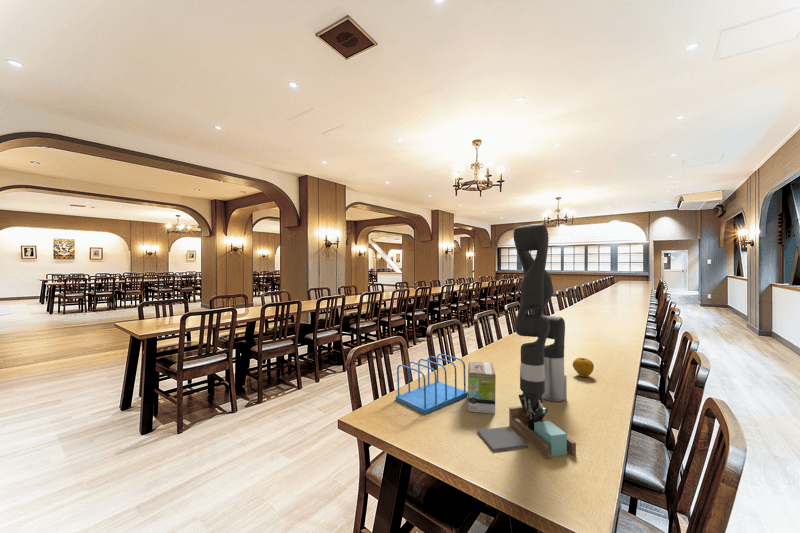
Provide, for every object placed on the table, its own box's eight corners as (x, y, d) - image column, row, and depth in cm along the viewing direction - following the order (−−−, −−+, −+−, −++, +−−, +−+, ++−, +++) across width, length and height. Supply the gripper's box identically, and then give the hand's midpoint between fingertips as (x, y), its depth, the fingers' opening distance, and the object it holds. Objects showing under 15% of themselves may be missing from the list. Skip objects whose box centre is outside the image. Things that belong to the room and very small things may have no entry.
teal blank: (548, 439, 101) (548, 420, 101) (566, 454, 94) (566, 433, 93) (534, 441, 100) (534, 422, 100) (551, 456, 93) (551, 435, 92)
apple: (568, 374, 160) (568, 356, 160) (580, 372, 164) (580, 354, 164) (585, 380, 152) (585, 361, 152) (598, 377, 155) (598, 358, 155)
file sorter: (437, 385, 148) (437, 351, 148) (468, 396, 135) (468, 359, 135) (395, 400, 132) (394, 362, 132) (425, 415, 119) (424, 373, 119)
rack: (534, 421, 113) (534, 404, 113) (576, 455, 93) (575, 434, 93) (509, 424, 111) (509, 407, 111) (546, 459, 91) (546, 437, 91)
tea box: (496, 414, 119) (496, 374, 119) (468, 412, 121) (467, 372, 121) (493, 397, 133) (492, 361, 133) (468, 396, 135) (467, 360, 135)
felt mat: (508, 428, 108) (508, 426, 108) (527, 447, 97) (527, 444, 97) (477, 432, 106) (477, 430, 106) (493, 451, 95) (493, 448, 95)
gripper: (556, 382, 99) (556, 439, 100) (530, 369, 112) (531, 419, 113) (533, 384, 98) (534, 442, 98) (510, 370, 111) (511, 421, 111)
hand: (532, 429), depth 105 cm, fingers closed
